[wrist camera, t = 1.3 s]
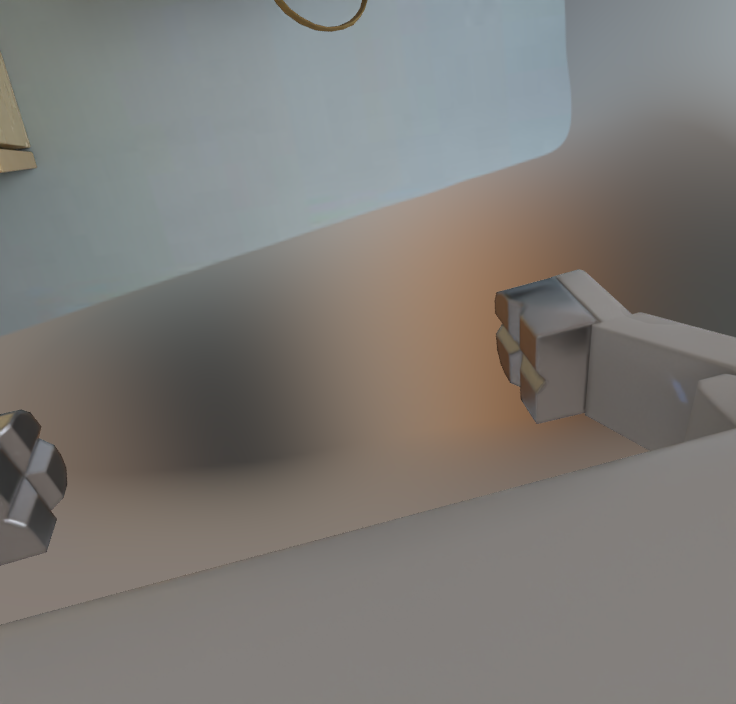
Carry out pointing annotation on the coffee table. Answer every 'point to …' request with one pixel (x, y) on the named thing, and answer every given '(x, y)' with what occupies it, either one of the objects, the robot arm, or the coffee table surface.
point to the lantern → (311, 25)
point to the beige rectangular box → (10, 115)
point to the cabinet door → (16, 160)
